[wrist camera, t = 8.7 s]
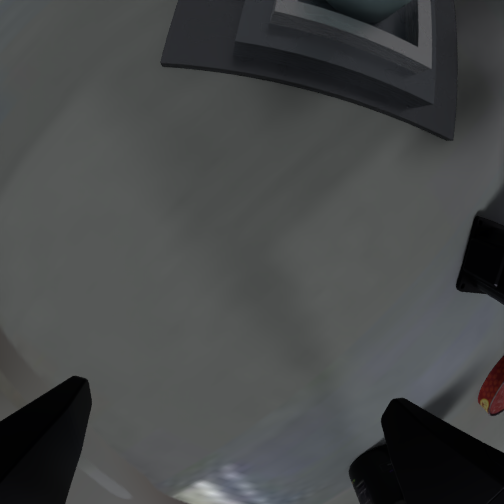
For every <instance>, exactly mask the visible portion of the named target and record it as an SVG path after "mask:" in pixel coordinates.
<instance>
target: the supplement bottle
mask: <svg viewBox="0 0 504 504" xmlns="http://www.w3.org/2000/svg"><path fill="white" fill-rule="evenodd" d="M349 477H350V479H351V482H352V485H353V487H354V490H355V492H356V495H357V497H358V500H359V502H360V504H406V502H405V499H404V496H403V493H402V490H401V488H400V485H399V482H398V479H397V476H396V473H395V471H394V468H393V465H392V462H391V459H390V455H389V452H388V448H387V445H385V446H381V447H378V448H375V449H372V450H370V451H368V452H366V453H365V454H363V455H362V456H360V457H359V458H358V459H356V460H355V461H354V462H353V464H352V465H351V466H350V469H349Z"/></svg>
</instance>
